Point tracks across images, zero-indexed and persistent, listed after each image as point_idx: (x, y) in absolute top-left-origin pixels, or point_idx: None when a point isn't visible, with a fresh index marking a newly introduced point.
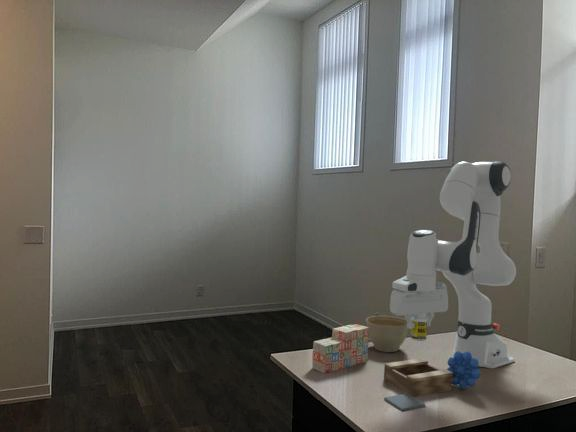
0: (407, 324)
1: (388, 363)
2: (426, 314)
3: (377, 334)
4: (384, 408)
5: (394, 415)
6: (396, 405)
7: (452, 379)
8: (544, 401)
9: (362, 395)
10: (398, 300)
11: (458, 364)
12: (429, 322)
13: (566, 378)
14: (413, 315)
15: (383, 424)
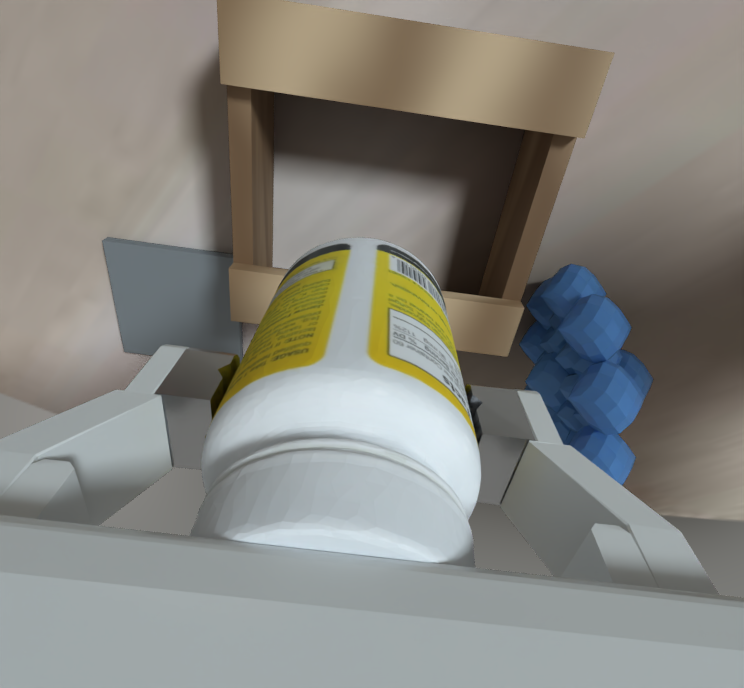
0: (144, 370)
1: (250, 7)
2: (587, 536)
3: None
4: (67, 300)
5: (81, 356)
6: (119, 320)
7: (534, 308)
8: (664, 510)
9: (12, 141)
10: None
11: (560, 387)
12: (504, 496)
13: None
14: (195, 521)
15: (10, 381)
